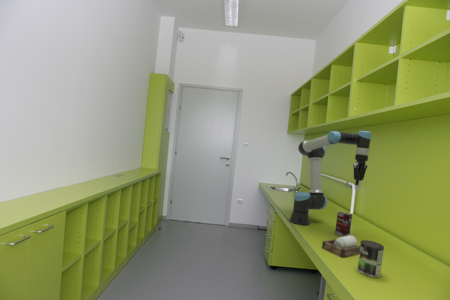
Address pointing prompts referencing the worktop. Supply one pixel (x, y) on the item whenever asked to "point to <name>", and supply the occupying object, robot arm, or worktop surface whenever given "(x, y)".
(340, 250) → the frame
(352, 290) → the worktop surface
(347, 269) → the worktop surface
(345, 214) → the supplement box
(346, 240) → the pill bottle
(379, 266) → the coffee can
